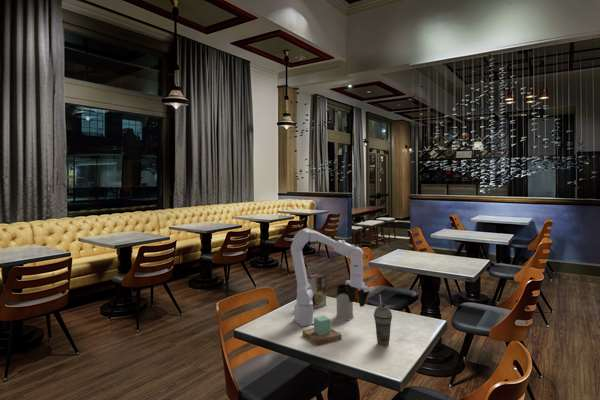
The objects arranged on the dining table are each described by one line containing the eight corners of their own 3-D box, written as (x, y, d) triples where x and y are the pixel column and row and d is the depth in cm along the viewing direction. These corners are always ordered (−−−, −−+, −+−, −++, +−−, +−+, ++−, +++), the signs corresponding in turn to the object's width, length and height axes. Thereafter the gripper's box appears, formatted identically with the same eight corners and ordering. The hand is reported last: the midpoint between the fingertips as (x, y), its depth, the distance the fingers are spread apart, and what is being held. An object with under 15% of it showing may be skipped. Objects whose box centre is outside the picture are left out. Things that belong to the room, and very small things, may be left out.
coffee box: (319, 302, 200) (319, 273, 200) (326, 305, 195) (326, 275, 194) (305, 305, 195) (305, 275, 195) (312, 308, 190) (312, 278, 190)
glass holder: (334, 319, 174) (334, 288, 173) (338, 309, 188) (337, 281, 187) (353, 320, 172) (352, 289, 172) (355, 310, 186) (354, 281, 185)
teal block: (314, 331, 155) (313, 317, 155) (324, 329, 157) (323, 315, 157) (320, 335, 150) (320, 321, 150) (330, 333, 153) (330, 319, 152)
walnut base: (302, 335, 156) (302, 330, 156) (326, 329, 162) (326, 325, 162) (316, 345, 146) (316, 340, 145) (341, 339, 151) (341, 334, 151)
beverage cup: (389, 349, 141) (388, 298, 140) (371, 345, 145) (370, 295, 144) (394, 342, 147) (394, 293, 147) (377, 338, 151) (377, 291, 150)
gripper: (373, 276, 159) (374, 306, 160) (354, 269, 172) (354, 298, 173) (361, 278, 156) (361, 309, 157) (341, 271, 169) (342, 300, 169)
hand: (356, 303), depth 164 cm, fingers open, 7 cm apart
